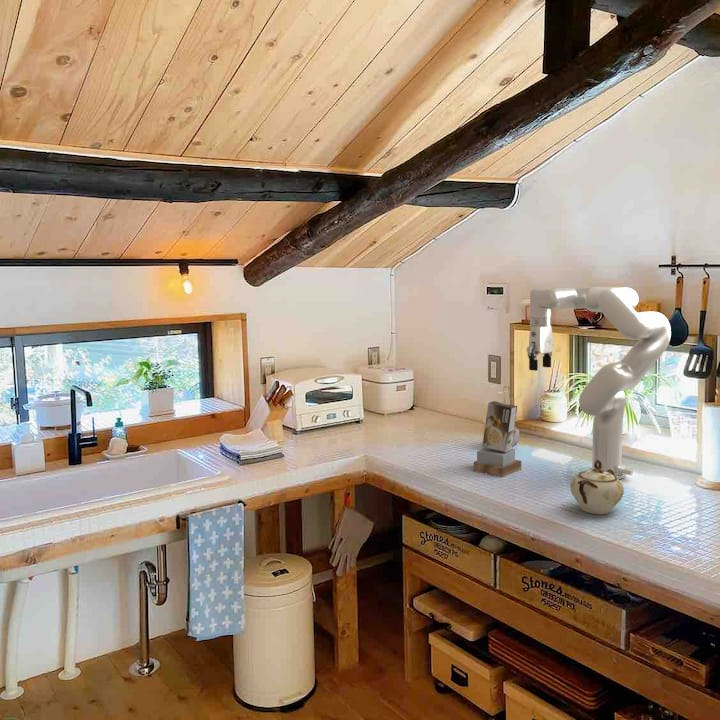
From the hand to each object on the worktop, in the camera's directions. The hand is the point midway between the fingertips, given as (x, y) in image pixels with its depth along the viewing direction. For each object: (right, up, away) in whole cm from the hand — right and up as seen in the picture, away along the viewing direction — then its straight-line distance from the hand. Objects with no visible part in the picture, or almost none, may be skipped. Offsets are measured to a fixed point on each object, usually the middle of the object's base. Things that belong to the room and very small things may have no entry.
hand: (540, 368), depth 262 cm
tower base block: (-17, -37, -9) cm, 42 cm away
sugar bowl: (+4, -41, -52) cm, 66 cm away
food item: (-9, -32, +24) cm, 41 cm away
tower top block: (-18, -33, -9) cm, 39 cm away
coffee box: (-18, -28, -10) cm, 35 cm away
